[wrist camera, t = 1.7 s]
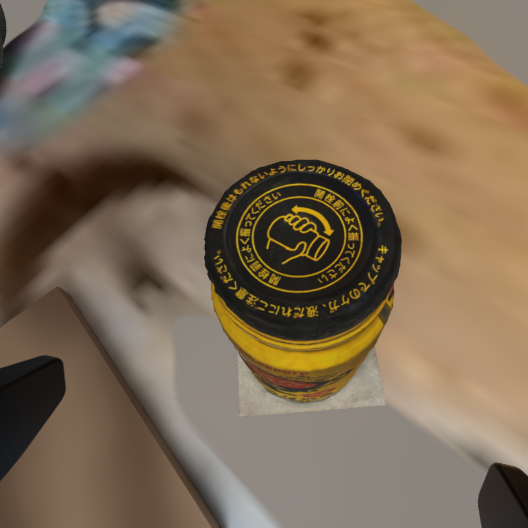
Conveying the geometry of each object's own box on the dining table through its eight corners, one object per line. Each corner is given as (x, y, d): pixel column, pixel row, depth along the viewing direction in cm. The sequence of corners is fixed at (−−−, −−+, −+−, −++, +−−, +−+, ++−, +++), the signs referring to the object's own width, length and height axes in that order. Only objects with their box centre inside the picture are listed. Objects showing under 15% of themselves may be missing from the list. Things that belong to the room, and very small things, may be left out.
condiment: (239, 417, 19) (160, 376, 8) (234, 266, 23) (175, 105, 12) (385, 406, 19) (499, 347, 8) (355, 255, 22) (405, 77, 12)
